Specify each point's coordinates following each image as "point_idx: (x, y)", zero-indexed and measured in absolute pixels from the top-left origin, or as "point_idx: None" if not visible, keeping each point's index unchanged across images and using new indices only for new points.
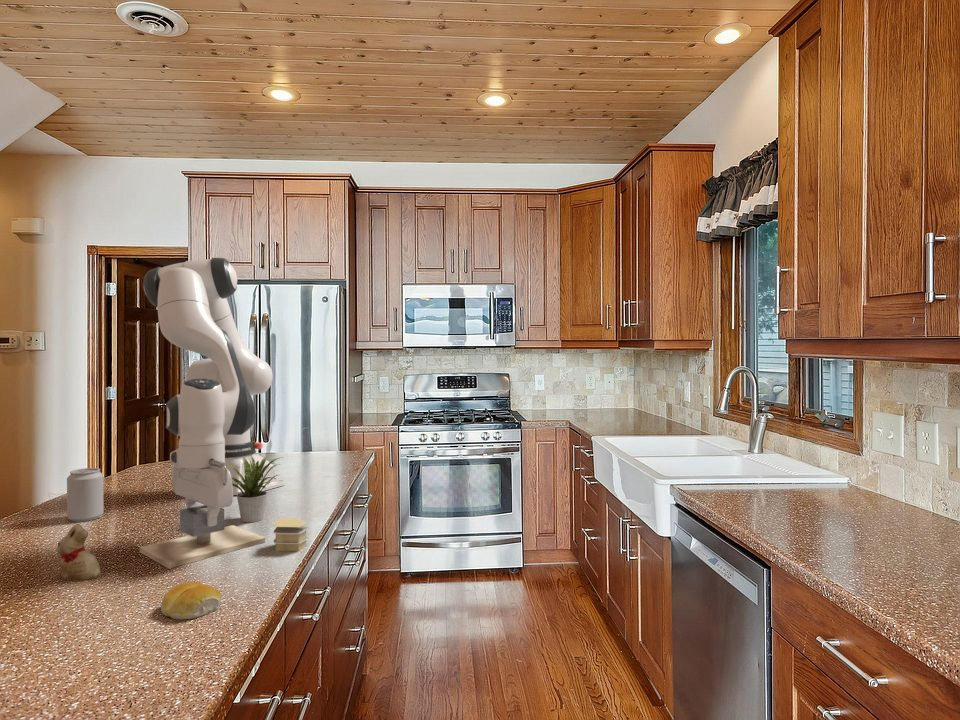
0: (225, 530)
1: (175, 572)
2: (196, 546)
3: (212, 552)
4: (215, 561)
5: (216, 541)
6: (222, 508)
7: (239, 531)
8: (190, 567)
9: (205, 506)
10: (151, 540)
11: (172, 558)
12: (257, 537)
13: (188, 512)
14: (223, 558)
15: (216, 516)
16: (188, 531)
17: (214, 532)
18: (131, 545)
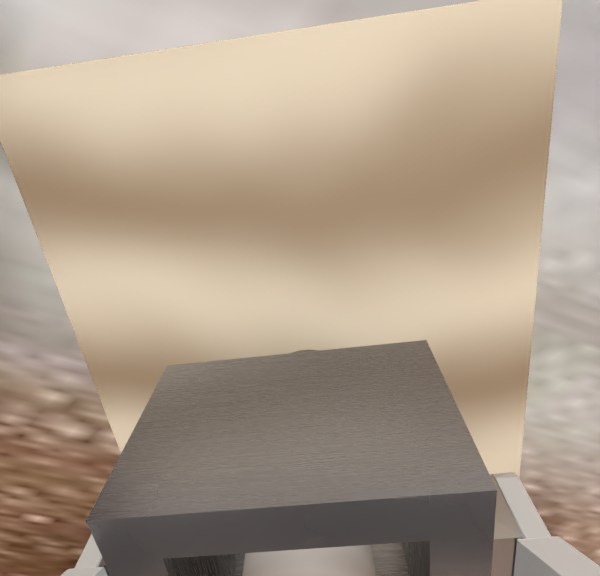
0: (118, 190)
1: (569, 539)
2: None
3: (523, 398)
4: (596, 393)
5: (349, 326)
6: (454, 498)
7: (213, 106)
8: (567, 489)
9: (172, 570)
10: (12, 504)
11: None
12: (497, 46)
13: None
14: (591, 350)
15: (560, 545)
16: None
17: (124, 269)
18: (52, 568)
